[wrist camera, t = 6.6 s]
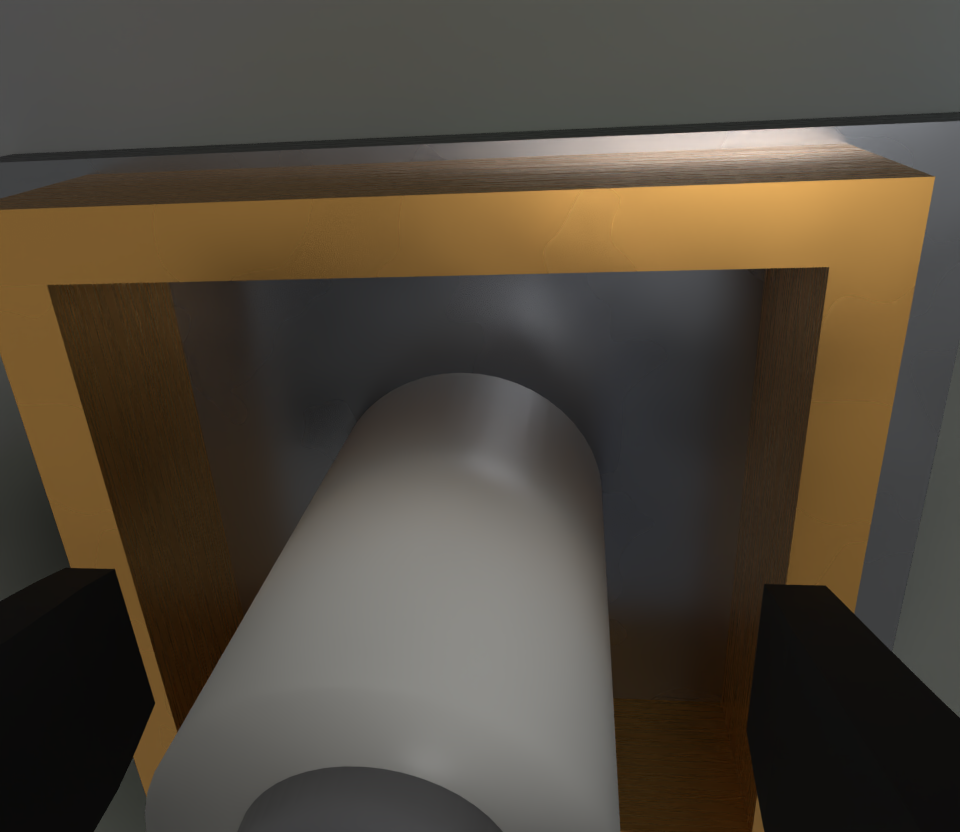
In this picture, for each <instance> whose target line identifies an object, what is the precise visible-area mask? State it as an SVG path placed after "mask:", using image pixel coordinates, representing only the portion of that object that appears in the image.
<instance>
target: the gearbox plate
mask: <svg viewBox="0 0 960 832" xmlns="http://www.w3.org/2000/svg"><path fill="white" fill-rule="evenodd" d="M959 340H960V112H953V113H931V114H908V115H886V116H863V117H841V118H818V119H796V120H774V121H751V122H729V123H706V124H684V125H661V126H639V127H617V128H594V129H572V130H549V131H527V132H504V133H482V134H460V135H437V136H415V137H392V138H370V139H347V140H325V141H303V142H280V143H258V144H235V145H213V146H190V147H168V148H146V149H123V150H101V151H78V152H56V153H33V154H12V155H7V156H2V157H0V354H1V357H2V360H3V363H4V366H5V369H6V373H7V376H8V379H9V382H10V385H11V388H12V391H13V394H14V397H15V400H16V403H17V406H18V409H19V412H20V415H21V418H22V421H23V424H24V427H25V430H26V433H27V436H28V439H29V442H30V445H31V448H32V451H33V454H34V457H35V460H36V463H37V466H38V470H39V473H40V476H41V479H42V482H43V485H44V488H45V491H46V494H47V497H48V500H49V503H50V506H51V509H52V512H53V515H54V518H55V521H56V524H57V527H58V530H59V533H60V536H61V539H62V542H63V545H64V548H65V551H66V554H67V557H68V560H69V563H70V566H71V568H97V569H115V571H116V574H117V578H118V581H119V584H120V588H121V591H122V594H123V597H124V601H125V604H126V607H127V611H128V614H129V617H130V621H131V624H132V627H133V631H134V634H135V637H136V641H137V644H138V647H139V651H140V654H141V657H142V661H143V664H144V667H145V670H146V674H147V677H148V680H149V684H150V687H151V690H152V694H153V697H154V700H155V706H154V708H153V710H152V713H151V715H150V718H149V720H148V722H147V725H146V727H145V730H144V732H143V735H142V737H141V739H140V742H139V744H138V747H137V749H136V751H135V753H134V756H133V757H134V760H135V764H136V767H137V770H138V773H139V776H140V779H141V782H142V785H143V788H144V791H145V794H146V797H147V792H148V789H149V786H150V783H151V781H152V778H153V775H154V772H155V770H156V769H157V767H158V765H159V764H160V762H161V760H162V758H163V757H164V755H165V753H166V751H167V750H168V748H169V746H170V744H171V743H172V741H173V739H174V738H175V736H176V734H177V732H178V731H179V729H180V727H181V725H182V724H183V722H184V720H185V718H186V717H187V715H188V713H189V712H190V710H191V708H192V706H193V705H194V703H195V701H196V699H197V698H198V696H199V694H200V692H201V691H202V689H203V687H204V686H205V684H206V682H207V680H208V679H209V677H210V675H211V673H212V672H213V670H214V668H215V666H216V665H217V663H218V661H219V660H220V658H221V656H222V654H223V653H224V651H225V649H226V647H227V646H228V644H229V642H230V640H231V639H232V637H233V635H234V634H235V632H236V630H237V628H238V627H239V625H240V623H241V621H242V620H243V618H244V616H245V614H246V613H247V611H248V609H249V608H250V606H251V604H252V602H253V601H254V599H255V597H256V595H257V594H258V592H259V590H260V588H261V587H262V585H263V583H264V582H265V580H266V578H267V576H268V575H269V573H270V571H271V569H272V568H273V566H274V564H275V562H276V561H277V559H278V557H279V556H280V554H281V552H282V550H283V549H284V547H285V545H286V543H287V542H288V540H289V538H290V536H291V535H292V533H293V531H294V530H295V528H296V526H297V524H298V523H299V521H300V519H301V517H302V516H303V514H304V512H305V510H306V509H307V507H308V505H309V504H310V502H311V500H312V498H313V497H314V495H315V493H316V491H317V490H318V488H319V486H320V484H321V483H322V481H323V479H324V478H325V476H326V474H327V472H328V471H329V469H330V467H331V465H332V464H333V462H334V460H335V458H336V457H337V455H338V453H339V452H340V450H341V448H342V446H343V445H344V443H345V441H346V439H347V438H348V436H349V434H350V433H351V431H352V429H353V428H354V426H355V424H356V423H357V421H358V420H359V419H360V418H361V416H362V415H363V414H364V413H365V412H366V410H367V409H369V408H370V407H371V406H372V405H373V404H374V403H375V402H376V401H377V400H379V399H380V398H382V397H383V396H385V395H386V394H388V393H389V392H390V391H392V390H394V389H396V388H398V387H400V386H402V385H404V384H406V383H409V382H412V381H415V380H418V379H421V378H424V377H428V376H434V375H439V374H448V373H475V374H483V375H489V376H494V377H499V378H502V379H505V380H508V381H512V382H515V383H517V384H519V385H522V386H524V387H526V388H528V389H531V390H533V391H534V392H536V393H538V394H539V395H541V396H543V397H544V398H546V399H548V400H549V401H550V402H551V403H553V404H554V405H555V406H556V407H558V408H559V409H560V410H562V411H563V412H564V413H565V414H566V416H567V417H568V418H569V419H570V420H571V421H572V422H573V423H574V424H575V425H576V427H577V428H578V429H579V431H580V432H581V433H582V435H583V436H584V437H585V439H586V441H587V443H588V445H589V446H590V448H591V450H592V452H593V455H594V457H595V460H596V463H597V465H598V469H599V474H600V479H601V486H602V504H603V522H604V540H605V559H606V577H607V595H608V613H609V632H610V650H611V668H612V687H613V705H614V723H615V741H616V760H617V778H618V796H619V815H620V832H765V831H764V828H763V823H762V818H761V812H760V807H759V801H758V796H757V790H756V785H755V779H754V773H753V767H752V761H751V755H750V749H749V743H748V737H747V731H746V729H747V720H748V712H749V704H750V696H751V688H752V680H753V671H754V663H755V655H756V647H757V639H758V631H759V622H760V614H761V606H762V598H763V590H764V584H785V585H826V586H827V587H828V588H829V589H830V590H831V591H832V592H833V593H834V594H835V595H836V596H837V597H838V598H839V599H840V600H841V601H842V602H843V603H844V604H845V605H846V606H847V607H848V608H849V609H850V610H851V611H852V612H853V613H854V614H855V615H856V616H857V617H858V618H859V619H860V620H861V621H862V622H863V623H864V624H865V625H866V626H867V627H868V628H869V629H870V630H871V631H872V632H873V633H874V634H875V635H876V636H877V637H878V638H879V639H880V640H881V641H882V642H883V643H884V644H885V645H886V646H887V647H888V648H889V649H890V650H891V651H892V650H893V645H894V640H895V636H896V631H897V627H898V622H899V617H900V613H901V608H902V603H903V599H904V594H905V590H906V585H907V580H908V576H909V571H910V566H911V562H912V557H913V553H914V548H915V543H916V539H917V534H918V529H919V525H920V520H921V516H922V511H923V506H924V502H925V497H926V492H927V488H928V483H929V479H930V474H931V469H932V465H933V460H934V455H935V451H936V446H937V442H938V437H939V432H940V428H941V423H942V418H943V414H944V409H945V405H946V400H947V395H948V391H949V386H950V381H951V377H952V372H953V368H954V363H955V358H956V354H957V349H958V344H959Z"/></svg>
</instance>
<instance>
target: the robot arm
mask: <svg viewBox="0 0 960 832" xmlns="http://www.w3.org/2000/svg"><path fill="white" fill-rule="evenodd" d="M154 706H155V700H154V697H153V694H152V690H151V687H150V684H149V680H148V677H147V674H146V670H145V667H144V664H143V661H142V657H141V654H140V651H139V647H138V644H137V641H136V637H135V634H134V631H133V627H132V624H131V621H130V617H129V614H128V611H127V607H126V604H125V601H124V597H123V594H122V591H121V588H120V584H119V581H118V578H117V574H116V571H115V569H97V568H64V569H62V570H60V571H58V572H56V573H54V574H52V575H50V576H47V577H45V578H43V579H41V580H39V581H37V582H35V583H33V584H32V585H30V586H28V587H26V588H24V589H22V590H20V591H18V592H17V593H15V594H13V595H11V596H9V597H8V598H6V599H4V600H2V601H0V832H94V830H95V828H96V827H97V825H98V823H99V822H100V820H101V818H102V816H103V815H104V813H105V811H106V810H107V808H108V806H109V804H110V802H111V801H112V799H113V797H114V795H115V794H116V792H117V790H118V788H119V786H120V784H121V782H122V780H123V777H124V775H125V773H126V771H127V769H128V767H129V764H130V762H131V760H132V758H133V756H134V753H135V751H136V749H137V747H138V744H139V742H140V739H141V737H142V735H143V732H144V730H145V727H146V725H147V722H148V720H149V718H150V715H151V713H152V710H153V708H154ZM746 731H747V737H748V743H749V749H750V755H751V761H752V767H753V773H754V779H755V785H756V790H757V796H758V801H759V807H760V812H761V818H762V823H763V828H764V831H765V832H960V718H959V717H958V716H957V715H956V714H955V713H954V712H953V711H952V710H951V709H950V708H949V707H948V706H947V705H946V704H944V703H943V702H942V701H941V700H940V699H939V698H938V697H937V696H936V695H935V694H934V693H933V692H932V691H931V690H930V689H929V688H928V687H927V686H926V685H925V684H924V683H923V682H922V681H921V680H920V679H919V678H918V677H917V676H916V675H915V674H914V673H913V672H912V671H911V670H910V669H909V668H908V667H907V666H906V665H905V664H904V663H903V662H902V661H901V660H900V659H899V658H898V657H897V656H896V655H895V654H894V653H893V652H892V651H891V650H890V649H889V648H888V647H887V646H886V645H885V644H884V643H883V642H882V641H881V640H880V639H879V638H878V637H877V636H876V635H875V634H874V633H873V632H872V631H871V630H870V629H869V628H868V627H867V626H866V625H865V624H864V623H863V622H862V621H861V620H860V619H859V618H858V617H857V616H856V615H855V614H854V613H853V612H852V611H851V610H850V609H849V608H848V607H847V606H846V605H845V604H844V603H843V602H842V601H841V600H840V599H839V598H838V597H837V596H836V595H835V594H834V593H833V592H832V591H831V590H830V589H829V588H828V587H827V586H826V585H785V584H764V590H763V598H762V606H761V614H760V622H759V631H758V639H757V647H756V655H755V663H754V671H753V680H752V688H751V696H750V704H749V712H748V720H747V729H746Z"/></svg>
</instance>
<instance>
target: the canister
mask: <svg viewBox="0 0 960 832" xmlns="http://www.w3.org/2000/svg"><path fill="white" fill-rule="evenodd" d="M145 825H146V832H620V815H619V796H618V778H617V760H616V741H615V723H614V705H613V687H612V668H611V650H610V632H609V613H608V595H607V577H606V559H605V540H604V522H603V504H602V486H601V479H600V474H599V469H598V465H597V463H596V460H595V457H594V455H593V452H592V450H591V448H590V446H589V445H588V443H587V441H586V439H585V437H584V436H583V435H582V433H581V432H580V431H579V429H578V428H577V427H576V425H575V424H574V423H573V422H572V421H571V420H570V419H569V418H568V417H567V416H566V414H565V413H564V412H563V411H562V410H560V409H559V408H558V407H556V406H555V405H554V404H553V403H551V402H550V401H549V400H548V399H546V398H544V397H543V396H541V395H539V394H538V393H536V392H534V391H533V390H531V389H528V388H526V387H524V386H522V385H519V384H517V383H515V382H512V381H508V380H505V379H502V378H499V377H494V376H489V375H483V374H475V373H448V374H439V375H434V376H428V377H424V378H421V379H418V380H415V381H412V382H409V383H406V384H404V385H402V386H400V387H398V388H396V389H394V390H392V391H390V392H389V393H388V394H386V395H385V396H383V397H382V398H380V399H379V400H377V401H376V402H375V403H374V404H373V405H372V406H371V407H370V408H369V409H367V410H366V412H365V413H364V414H363V415H362V416H361V418H360V419H359V420H358V421H357V423H356V424H355V426H354V428H353V429H352V431H351V433H350V434H349V436H348V438H347V439H346V441H345V443H344V445H343V446H342V448H341V450H340V452H339V453H338V455H337V457H336V458H335V460H334V462H333V464H332V465H331V467H330V469H329V471H328V472H327V474H326V476H325V478H324V479H323V481H322V483H321V484H320V486H319V488H318V490H317V491H316V493H315V495H314V497H313V498H312V500H311V502H310V504H309V505H308V507H307V509H306V510H305V512H304V514H303V516H302V517H301V519H300V521H299V523H298V524H297V526H296V528H295V530H294V531H293V533H292V535H291V536H290V538H289V540H288V542H287V543H286V545H285V547H284V549H283V550H282V552H281V554H280V556H279V557H278V559H277V561H276V562H275V564H274V566H273V568H272V569H271V571H270V573H269V575H268V576H267V578H266V580H265V582H264V583H263V585H262V587H261V588H260V590H259V592H258V594H257V595H256V597H255V599H254V601H253V602H252V604H251V606H250V608H249V609H248V611H247V613H246V614H245V616H244V618H243V620H242V621H241V623H240V625H239V627H238V628H237V630H236V632H235V634H234V635H233V637H232V639H231V640H230V642H229V644H228V646H227V647H226V649H225V651H224V653H223V654H222V656H221V658H220V660H219V661H218V663H217V665H216V666H215V668H214V670H213V672H212V673H211V675H210V677H209V679H208V680H207V682H206V684H205V686H204V687H203V689H202V691H201V692H200V694H199V696H198V698H197V699H196V701H195V703H194V705H193V706H192V708H191V710H190V712H189V713H188V715H187V717H186V718H185V720H184V722H183V724H182V725H181V727H180V729H179V731H178V732H177V734H176V736H175V738H174V739H173V741H172V743H171V744H170V746H169V748H168V750H167V751H166V753H165V755H164V757H163V758H162V760H161V762H160V764H159V765H158V767H157V769H156V770H155V772H154V775H153V778H152V781H151V783H150V786H149V789H148V792H147V799H146V807H145Z"/></svg>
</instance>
